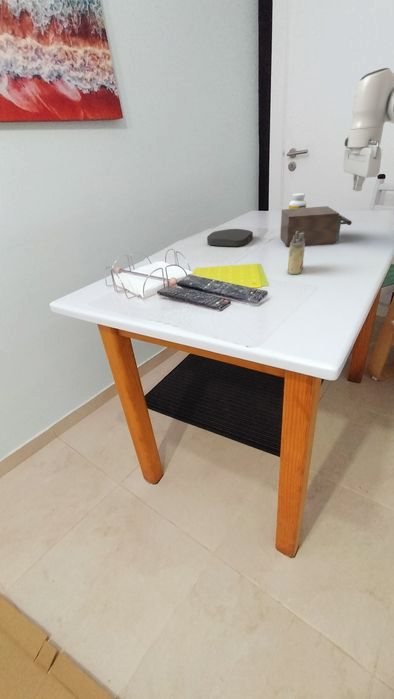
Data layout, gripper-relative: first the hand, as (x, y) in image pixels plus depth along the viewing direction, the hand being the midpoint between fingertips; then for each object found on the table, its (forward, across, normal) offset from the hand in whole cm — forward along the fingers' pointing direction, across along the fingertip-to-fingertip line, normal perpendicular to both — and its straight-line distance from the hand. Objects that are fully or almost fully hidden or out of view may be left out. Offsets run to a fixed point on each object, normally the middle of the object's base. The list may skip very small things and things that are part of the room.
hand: (356, 190), depth 107 cm
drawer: (+14, 0, +11) cm, 18 cm away
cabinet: (+15, 0, +15) cm, 21 cm away
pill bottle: (+15, +23, +13) cm, 31 cm away
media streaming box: (+15, +6, +41) cm, 44 cm away
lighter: (+15, -29, +24) cm, 40 cm away
